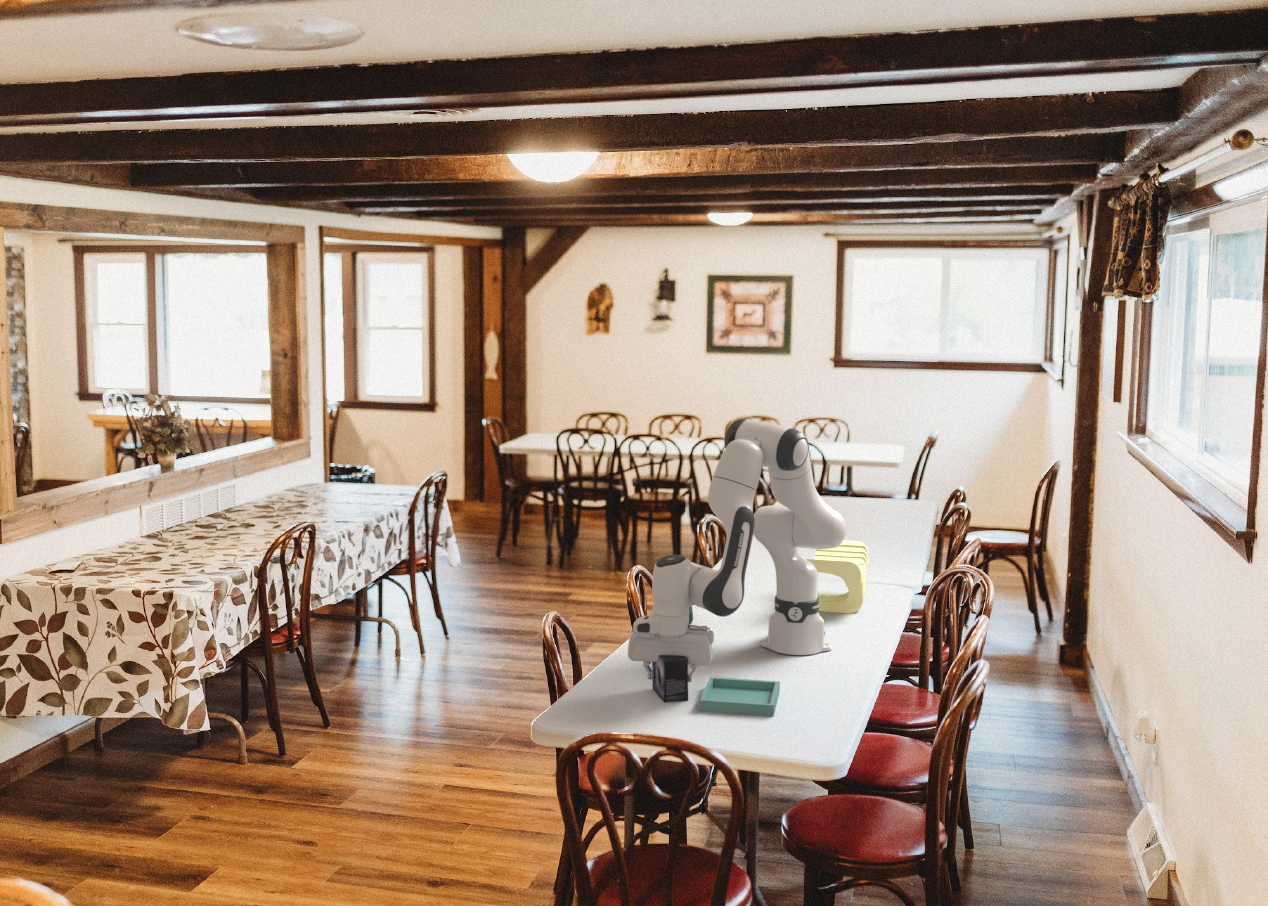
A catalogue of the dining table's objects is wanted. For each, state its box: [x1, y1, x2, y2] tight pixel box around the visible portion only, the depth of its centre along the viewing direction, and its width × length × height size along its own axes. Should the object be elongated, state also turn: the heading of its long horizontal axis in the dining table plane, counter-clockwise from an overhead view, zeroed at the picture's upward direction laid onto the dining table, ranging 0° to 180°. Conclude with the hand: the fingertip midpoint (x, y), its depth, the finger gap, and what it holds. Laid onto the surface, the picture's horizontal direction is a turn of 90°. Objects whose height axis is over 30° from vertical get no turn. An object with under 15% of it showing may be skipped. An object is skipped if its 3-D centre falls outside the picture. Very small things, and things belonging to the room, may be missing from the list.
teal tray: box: [699, 676, 781, 717], centre depth 276 cm, size 17×17×3 cm
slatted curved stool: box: [806, 539, 869, 614], centre depth 359 cm, size 30×16×18 cm, turn 165°
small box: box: [651, 655, 689, 703], centre depth 280 cm, size 11×6×10 cm, turn 15°
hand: (670, 680), depth 280 cm, fingers closed on small box, 8 cm apart
